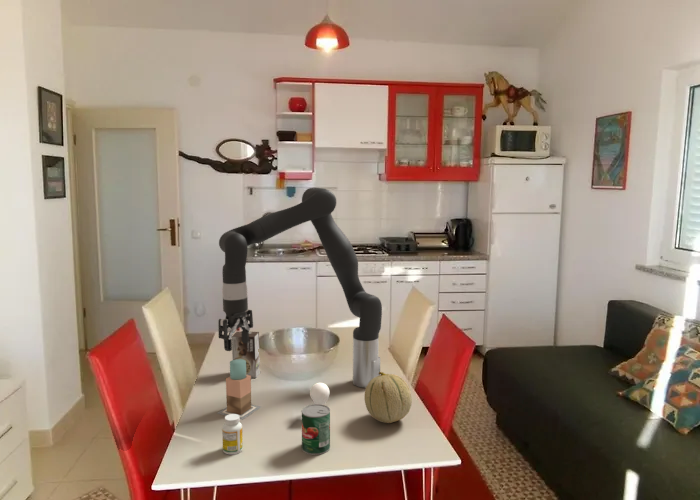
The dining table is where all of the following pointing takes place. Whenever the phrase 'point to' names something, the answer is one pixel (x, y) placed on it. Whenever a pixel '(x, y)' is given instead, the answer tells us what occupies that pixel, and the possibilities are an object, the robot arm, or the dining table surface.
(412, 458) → the dining table surface
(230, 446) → the supplement bottle
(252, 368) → the coffee box
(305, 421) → the canned tomato
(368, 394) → the cantaloupe
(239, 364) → the mint green capsule
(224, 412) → the mat
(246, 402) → the walnut block
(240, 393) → the terracotta block
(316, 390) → the lightbulb
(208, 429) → the dining table surface
